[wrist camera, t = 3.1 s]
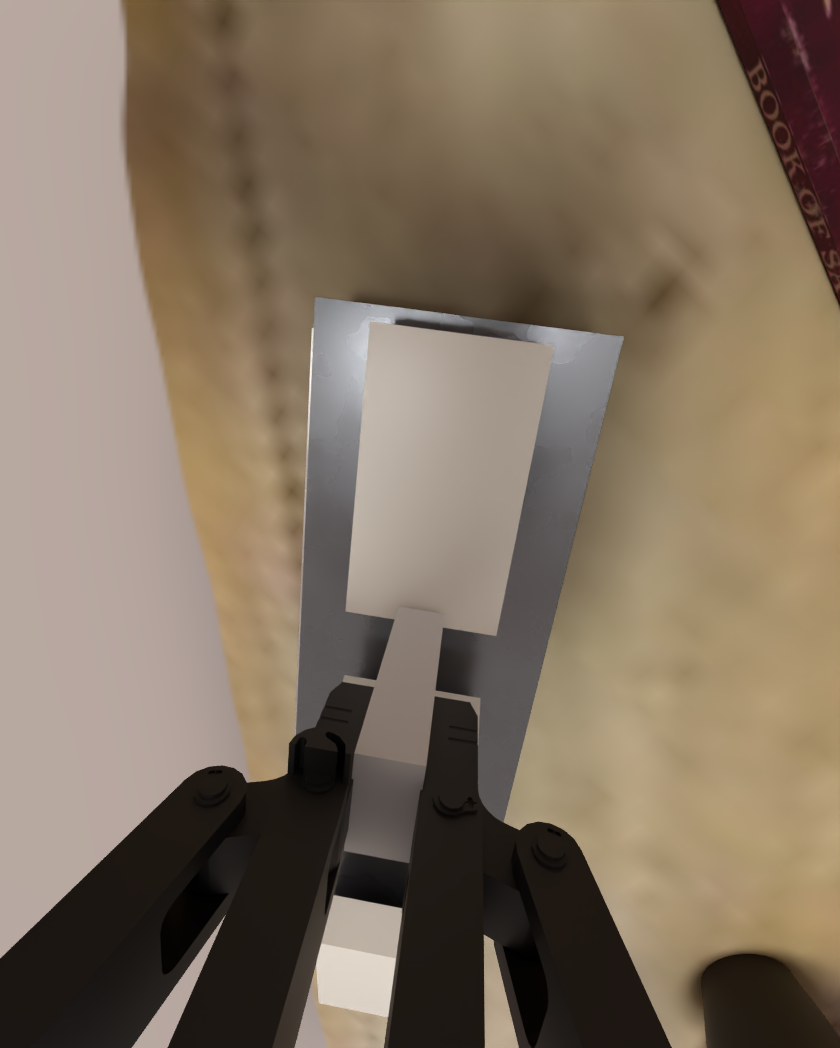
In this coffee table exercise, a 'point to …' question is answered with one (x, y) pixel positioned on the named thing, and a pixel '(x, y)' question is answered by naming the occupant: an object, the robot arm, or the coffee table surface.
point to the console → (536, 567)
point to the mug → (760, 1007)
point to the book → (799, 100)
